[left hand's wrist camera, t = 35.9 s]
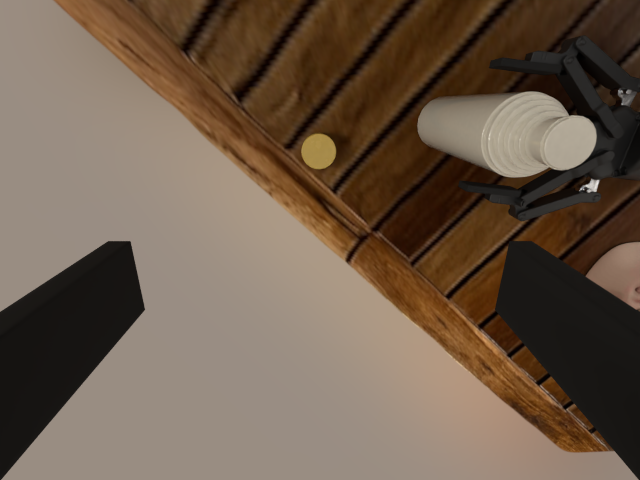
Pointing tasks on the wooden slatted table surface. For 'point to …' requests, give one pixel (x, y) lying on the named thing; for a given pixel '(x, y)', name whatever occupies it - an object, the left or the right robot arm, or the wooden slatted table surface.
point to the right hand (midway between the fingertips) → (477, 128)
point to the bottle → (507, 132)
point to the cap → (318, 151)
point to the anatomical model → (620, 273)
